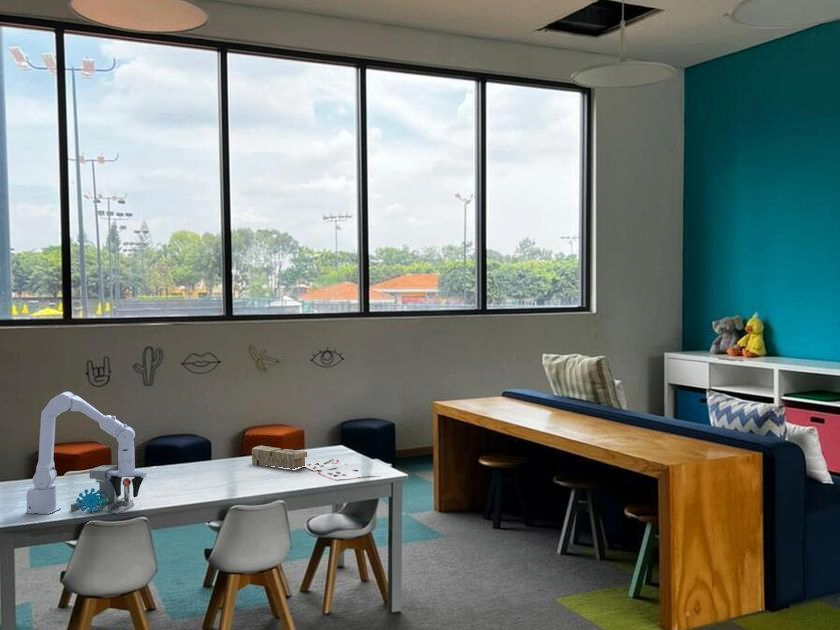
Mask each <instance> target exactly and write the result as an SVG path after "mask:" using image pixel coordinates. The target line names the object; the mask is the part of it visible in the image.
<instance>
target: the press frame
mask: <svg viewBox="0 0 840 630" xmlns="http://www.w3.org/2000/svg"><path fill="white" fill-rule="evenodd" d="M109 471H119V470H118V465H117V464H103V465H99V466H97V467H95V468H92V469H90V470H89V479H91V480H92V479H94V480H95V483H99V489H98V490H100V491H101V493H100V494H99V495H102V494H104V498H101V497H99V498H100V499H105V500H106V499H107V498H108V499H109V502H108V503H111V504H107V513H111V514H112V513H116V514H115V515H117V514H118V515H119V514H120V513H122V512H123V511H125V509H126V510H127V508H128V509H129V508H131V507H133V506H134V505H135V502H134V501H133V503H132V504H130V505H121V501H122V500H124V496H123V497H121V498H119V497H116V493H115V490H114V487H113V485H112V483H111V482H110V479H111V477H108V472H109ZM80 500H83V499H82V498H81V499H80ZM77 503H80V504H83V503H82V502H76V501H75V502H73V503H71V504H70V511H71V512H76V511H78V510H80V509H81V508H82V507H85V506H81V507H77ZM79 508H80V509H79ZM77 509H78V510H77ZM75 510H76V511H75ZM121 511H122V512H121ZM119 512H120V513H119Z"/></svg>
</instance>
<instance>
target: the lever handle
mask: <svg viewBox="0 0 840 630" xmlns="http://www.w3.org/2000/svg"><path fill="white" fill-rule="evenodd" d="M131 484H132V481H131V479H130V477H125V478H124V479H122V485H123V492H124V493H123V495H124V496H123V497H124V500H122V501H121V505H130V504H132V503H133V502H134V499H133V498H131V489H130V488H131Z"/></svg>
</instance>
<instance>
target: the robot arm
mask: <svg viewBox="0 0 840 630" xmlns="http://www.w3.org/2000/svg"><path fill="white" fill-rule="evenodd" d="M69 409H70V412H80V413H82V414H83V415H85V416H87V417H89V418H90V419H92V420H93V421H95V422H96V423H98V426H99V428H100V429H101V430H103V431H104V432H106V433H107V434H108V435H110V436H112V437H113V438H116V439H115V440H116V441H117V442H118V447H117V448H118V449H117V451H118V452H117V454H118V455H117V456H118V458H117V461H118V471H109V472H108V477H111V479H110V482H111V483H112V485H113V487H114V490H115V493H116V497H118V498H119V497H120V496H121V495H122V482H123V478H131V479H130V480H131V484H132V495H133V498H137V497H138V495H139V490H140V487H141V485H142V483H143V481H144V480H145V478H147V471H142V470H141V471H140V470H136V465H135V462H136V460H135V440H134V439H135V438H136V432H135V430H134V429H133V428H132V427H131V426H130V425H129V426H128V424H126V423H122V422H121V421H120V420H119V419H117V417H116V416H115V415H110V414H107V415H104V414H103V413H101V412H100V411H99V410H98V409H96V408H95V407H94V406H93V405H91V404H90V403H88V402H87V401H85V400H84V399H83V398H81V397H80V396H79V395H76V394H74V393H73V392H71V391H64V392H62V393H60V394H57V395H56V396H55V397H53V398H51V399H50V400H49V402H48V403H47V405H46V406H45V407H44V409H42V411H41V414H40V425H39V426H40V427H39V446H38V461H37V465H36V467H35V468H36V469H35V474H34V475H33V477H32V483H33V485H34V486H31V487H29V488H28V490H27V492H26V511H25V514H34V513H38V514H39V515H50V513H51V514H52V512H53V513H55V512H57V511H59V510H61V509H62V507H61V506H57V490H56V489H57V484H56V483H55V480H56V479H57V478H58V477H57V476H58V473H57V470H56V467H55V465H56V464H55V460H54V456H55V455H54V454H55V441H56V440H55V439H56V438H55V437H56V419H57V417H58V416H60V414H62V413H64V412H67V411H68V410H69Z"/></svg>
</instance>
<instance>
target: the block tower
mask: <svg viewBox="0 0 840 630" xmlns="http://www.w3.org/2000/svg"><path fill="white" fill-rule="evenodd" d="M307 457H308V451H305V450H295V449H291V448H289V449H287V448H286V449H285V448H284V449H282V448H280V447H272V446H265V445H257V446H254V447H252V448H251V464H252V465H254V464H258V465H259V466H260V465H267V466H275V467H283V468H290V469H295V468H298V467H302V466H305V462H306V458H307Z"/></svg>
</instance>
